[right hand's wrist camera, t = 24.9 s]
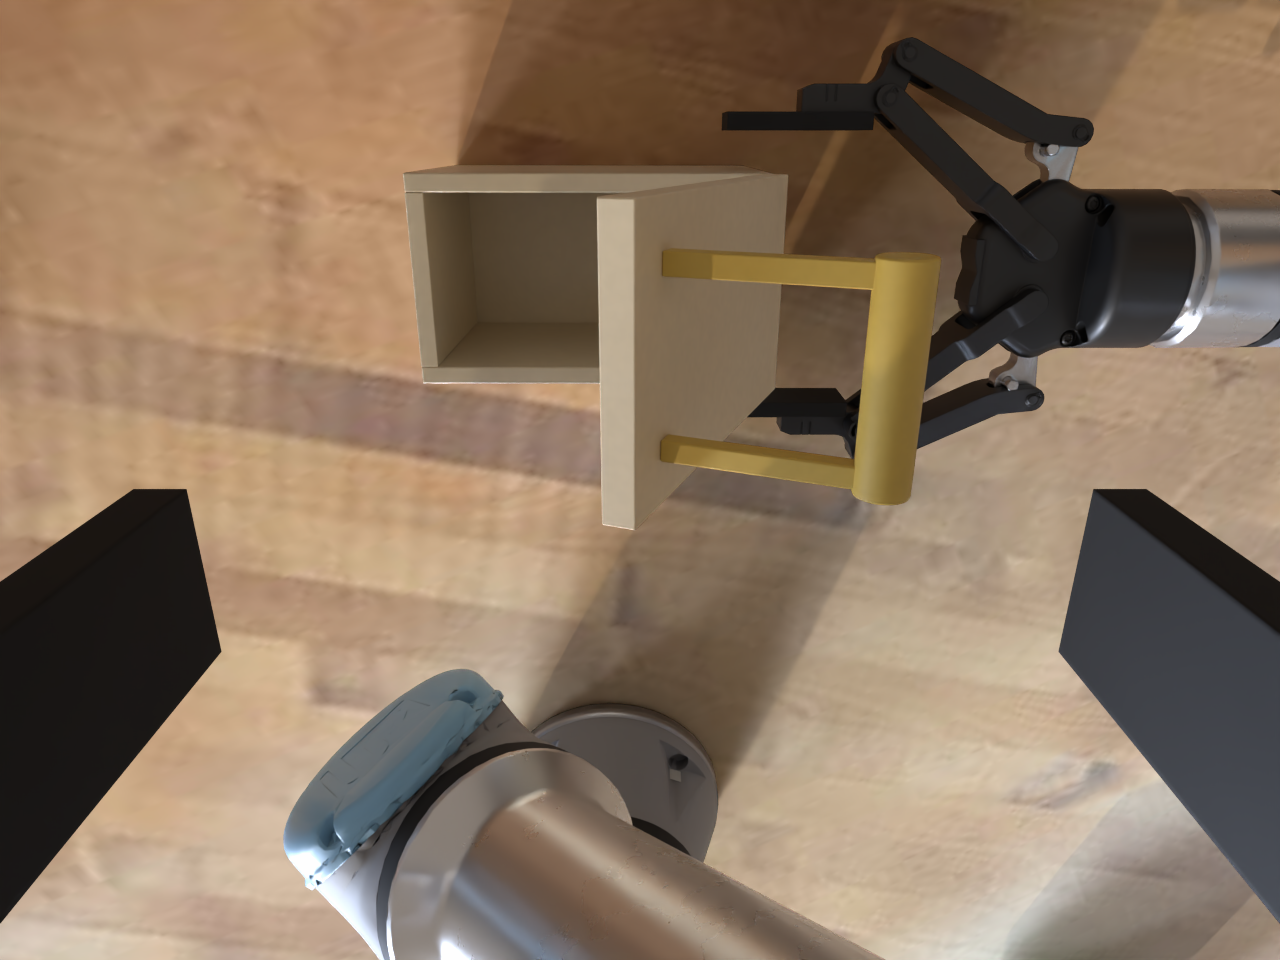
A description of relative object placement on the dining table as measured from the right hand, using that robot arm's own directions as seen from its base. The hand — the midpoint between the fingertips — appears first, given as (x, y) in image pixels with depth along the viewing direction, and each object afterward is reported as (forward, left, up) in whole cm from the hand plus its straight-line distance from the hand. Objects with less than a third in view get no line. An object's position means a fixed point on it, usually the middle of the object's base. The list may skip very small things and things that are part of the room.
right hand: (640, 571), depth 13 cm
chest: (-1, +2, -38) cm, 38 cm away
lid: (+1, -2, -19) cm, 19 cm away
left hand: (+2, -3, -31) cm, 32 cm away
